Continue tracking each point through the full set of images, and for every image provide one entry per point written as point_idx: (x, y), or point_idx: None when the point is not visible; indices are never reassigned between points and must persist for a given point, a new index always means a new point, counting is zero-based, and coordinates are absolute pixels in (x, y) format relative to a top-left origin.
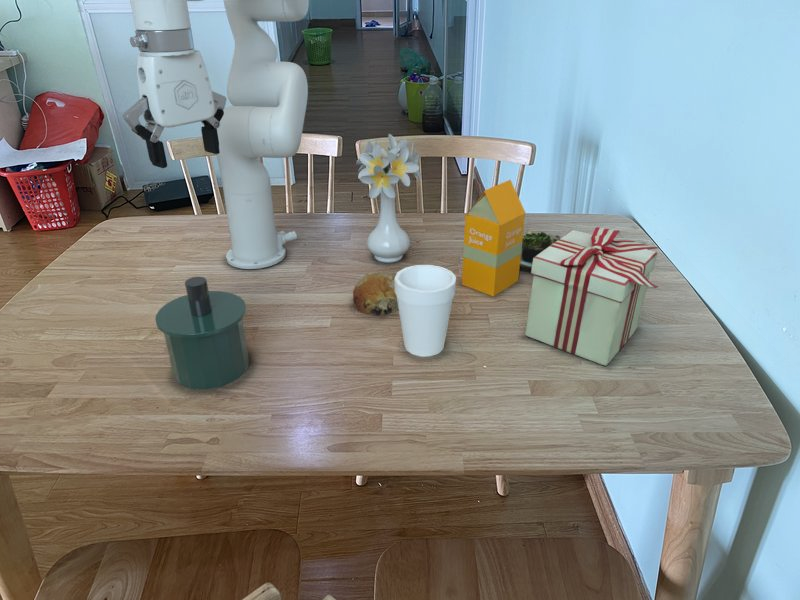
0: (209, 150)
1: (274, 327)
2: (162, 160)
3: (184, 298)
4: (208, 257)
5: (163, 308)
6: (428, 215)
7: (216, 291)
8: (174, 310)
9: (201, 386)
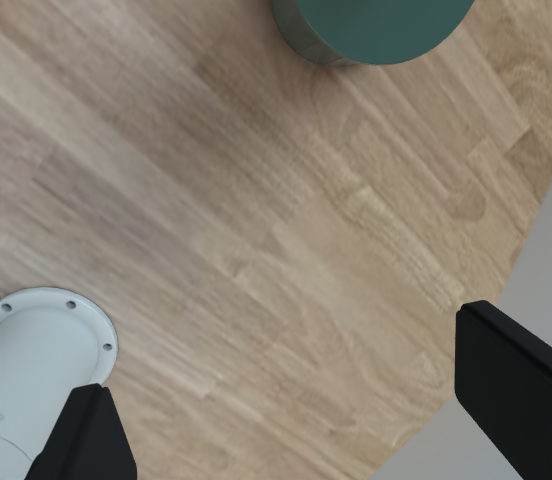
0: (121, 442)
1: (167, 42)
2: (511, 321)
3: (381, 48)
4: (137, 396)
5: (437, 37)
6: None
7: (310, 20)
8: (427, 6)
9: None
